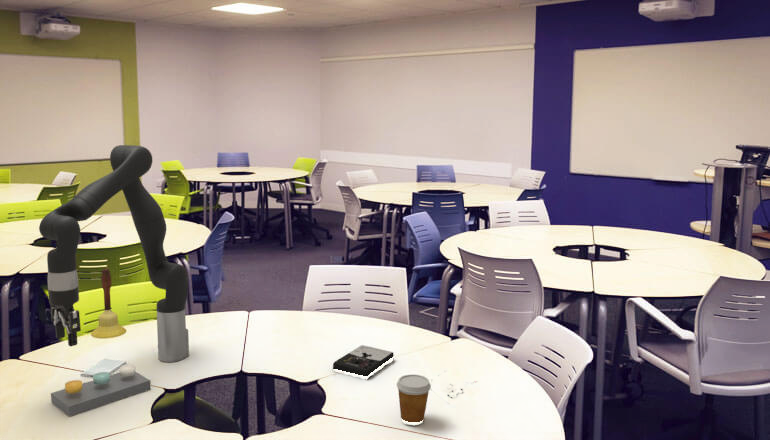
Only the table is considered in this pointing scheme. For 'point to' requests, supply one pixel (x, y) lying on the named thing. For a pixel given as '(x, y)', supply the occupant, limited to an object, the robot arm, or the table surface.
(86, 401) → the console
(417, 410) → the disposable coffee cup
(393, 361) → the table surface
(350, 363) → the black and grey book
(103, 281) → the handbell
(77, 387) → the amber button
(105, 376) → the teal button
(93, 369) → the hard drive
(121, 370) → the offwhite button
